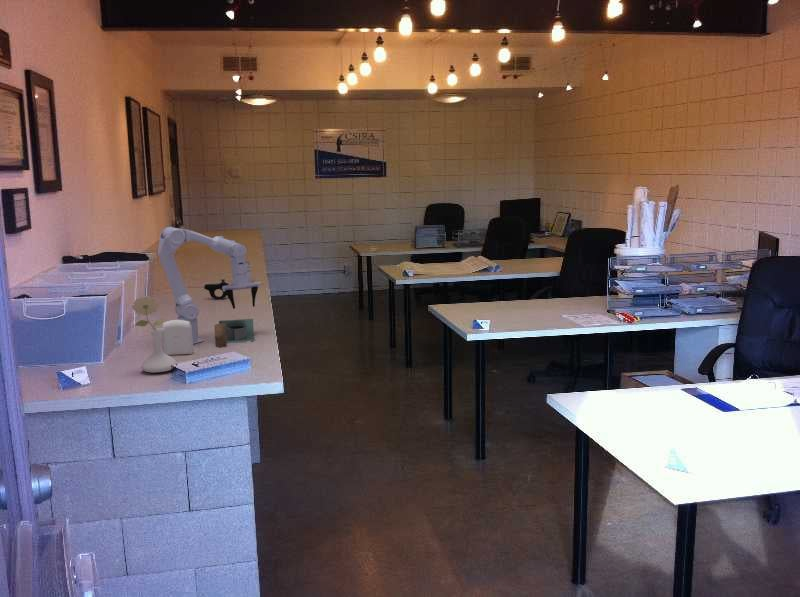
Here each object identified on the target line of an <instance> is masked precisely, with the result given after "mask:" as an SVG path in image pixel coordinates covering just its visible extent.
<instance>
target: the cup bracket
mask: <svg viewBox="0 0 800 597" xmlns="http://www.w3.org/2000/svg"><path fill="white" fill-rule="evenodd" d="M218 324H225V325H226V343H227V344H236V343H237V344H238V342H239V343H248V342H247V341H255V340H256V337H255V332H254V331H255V330H254V319H253V318H245V319H244V318H242V319H241V318H240V319H226V320H218ZM255 342H256V341H255Z"/></svg>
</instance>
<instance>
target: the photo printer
mask: <svg viewBox="0 0 800 597" xmlns="http://www.w3.org/2000/svg"><path fill="white" fill-rule="evenodd" d="M161 328H164V329H165V330H164V331H163V333H162V342H163V343H162V344H163V347H162V348H163V352H164V353H165V354H167V355H168V356H175V355H176V356H177V355H191V354H194V344H193V340H192V327H191V324H190V322H189V321H185V320H178V319H172V320H167V321H164V322H162V326H161Z"/></svg>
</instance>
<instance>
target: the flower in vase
mask: <svg viewBox="0 0 800 597" xmlns="http://www.w3.org/2000/svg"><path fill="white" fill-rule="evenodd" d="M159 306H160V305H159V303H158V301H157V299H156V298H155V297H151V296H150V295H148V296H147V295H144V296H140V297H139V298H136V299H134V302H133V303H132V305H131V307H132V309H133V311H134V312H135V313H136V314H138V315H142V316H146V320H144V319H141V320H139V321H137V322H136V323H135V326H139V327H146V326H147V325H148V324H149V325H150V326H151V327H152V328H150V329H148V332H150V335H151V336H152V338H153V347H154V348H153V349H154V350H153V352H152V354H151V355H150V356H149V357H148V358H145V360H144V361H143V362H142V364H141V365H140V368H141V370H142V371H144V372H147V373H163V372H169V371H172V370H171V365H174V364H177V365H178V362H177V361H176V360H175V359H174V358H173V357H171V355H167V354H165V353H164V349H162V348H163V347H162V339H163V335H162V333H163V331H164V330H165V329H164V328H162V327H156V326H159V325H160V324H163V321H164V319H165V318H164V317H163V318H162V319H159V320H156V321H155V322H154V324H152V323H151V322H150V320H149V317H148V316H149V315H152V314H153V313H156V312H157V310H158V308H159Z"/></svg>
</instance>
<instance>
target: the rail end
mask: <svg viewBox="0 0 800 597" xmlns="http://www.w3.org/2000/svg"><path fill="white" fill-rule="evenodd" d="M214 339H215V347H216V348H225V347H227V345H228V343H226V325H225V324H219V323H218V324H217V323H216V324H214Z"/></svg>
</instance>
